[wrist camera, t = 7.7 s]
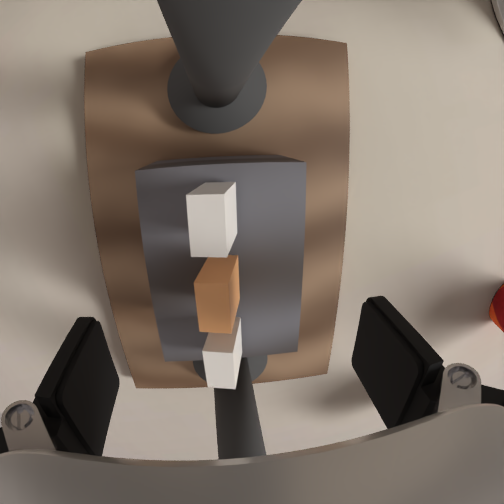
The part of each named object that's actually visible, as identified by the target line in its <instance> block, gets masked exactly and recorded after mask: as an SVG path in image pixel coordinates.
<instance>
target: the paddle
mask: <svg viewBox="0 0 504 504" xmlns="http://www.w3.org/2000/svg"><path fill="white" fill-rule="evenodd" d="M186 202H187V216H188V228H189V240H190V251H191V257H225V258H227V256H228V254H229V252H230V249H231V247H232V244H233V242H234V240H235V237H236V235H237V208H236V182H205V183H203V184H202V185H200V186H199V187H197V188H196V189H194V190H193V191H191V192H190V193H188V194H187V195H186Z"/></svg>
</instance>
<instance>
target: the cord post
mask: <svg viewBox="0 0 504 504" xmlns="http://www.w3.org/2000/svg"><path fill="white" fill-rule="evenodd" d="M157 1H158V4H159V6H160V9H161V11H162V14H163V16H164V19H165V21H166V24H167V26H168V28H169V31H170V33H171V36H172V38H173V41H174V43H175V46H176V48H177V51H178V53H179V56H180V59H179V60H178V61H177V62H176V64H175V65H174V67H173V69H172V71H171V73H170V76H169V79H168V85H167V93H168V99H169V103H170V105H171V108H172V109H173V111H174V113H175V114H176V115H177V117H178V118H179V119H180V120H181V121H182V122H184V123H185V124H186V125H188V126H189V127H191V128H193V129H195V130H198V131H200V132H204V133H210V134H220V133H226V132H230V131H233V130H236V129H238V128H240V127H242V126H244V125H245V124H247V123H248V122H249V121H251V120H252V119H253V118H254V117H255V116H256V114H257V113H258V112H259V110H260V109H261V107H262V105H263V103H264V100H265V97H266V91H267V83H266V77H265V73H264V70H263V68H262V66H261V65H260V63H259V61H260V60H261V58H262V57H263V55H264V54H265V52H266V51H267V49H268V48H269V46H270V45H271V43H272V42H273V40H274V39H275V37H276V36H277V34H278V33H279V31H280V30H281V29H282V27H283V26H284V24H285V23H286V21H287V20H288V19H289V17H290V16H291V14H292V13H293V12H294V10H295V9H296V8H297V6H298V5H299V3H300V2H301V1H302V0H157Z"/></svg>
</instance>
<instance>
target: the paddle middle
mask: <svg viewBox="0 0 504 504" xmlns="http://www.w3.org/2000/svg"><path fill="white" fill-rule="evenodd" d="M194 290H195V299H196V307H197V316H198V323H199V331H200V332H211V333H228V334H232V329H233V325H234V321H235V317H236V313H237V309H238V305H239V300H240V291H239V266H238V255H228V256H227V258H225V257H208V258H207V260H206V262H205V263H204V265H203V267H202V269H201V270H200V272H199V274H198V276H197V278H196V279H195V281H194Z"/></svg>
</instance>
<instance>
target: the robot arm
mask: <svg viewBox="0 0 504 504" xmlns="http://www.w3.org/2000/svg"><path fill="white" fill-rule="evenodd" d="M492 4H493V8H494V12H495V15H496V18H497V20H498V23H499V25H500V27H501V30H502V32H503V34H504V0H492ZM442 364H443V359H442V358H441V357H440V356H439V355H438V354H437V353H436V352H435V350H434V349H433V348H432V347H431V346H430V345H429V344H428V343H427V342H426V341H425V339H424V338H423V337H422V336H421V335H420V334H419V333H418V332H417V331H416V330H415V329H414V328H413V326H412V325H411V324H410V323H409V322H408V321H407V320H406V319H405V318H404V317H403V316H402V315H401V314H400V313H399V312H398V311H397V310H396V308H395V307H394V306H393V305H392V304H391V303H390V302H389V301H388V300H387V299H386V298H385V297H384V296H377V297H370V298H368V299H367V300H366V302H364V303H363V305H362V309H361V315H360V321H359V326H358V331H357V336H356V341H355V346H354V351H353V355H352V366H353V368H354V370H355V372H356V374H357V375H358V377H359V379H360V381H361V382H362V384H363V386H364V388H365V389H366V391H367V393H368V395H369V396H370V398H371V400H372V402H373V404H374V405H375V407H376V409H377V411H378V413H379V414H380V416H381V418H382V420H383V422H384V423H385V425H386V427H387V429H386V430H383V431H380V432H376V433H373V434H369V435H366V436H362V437H358V438H355V439H351V440H347V441H343V442H338V443H334V444H329V445H325V446H320V447H315V448H310V449H304V450H299V451H293V452H286V453H280V454H273V455H265V456H256V457H247V458H235V459H221V460H197V461H162V460H140V459H126V458H114V457H103V456H102V453H103V449H104V444H105V440H106V435H107V431H108V427H109V423H110V419H111V415H112V411H113V407H114V404H115V400H116V396H117V392H118V389H119V377H118V374H117V371H116V369H115V366H114V363H113V360H112V357H111V354H110V352H109V349H108V346H107V342H106V339H105V336H104V333H103V330H102V327H101V324H100V322H99V321H96V320H95V318H94V317H79V318H78V319H77V320H76V322H75V323H74V325H73V327H72V328H71V330H70V332H69V333H68V335H67V337H66V339H65V340H64V342H63V344H62V345H61V347H60V349H59V351H58V352H57V354H56V356H55V358H54V360H53V361H52V363H51V365H50V367H49V369H48V371H47V372H46V374H45V376H44V378H43V380H42V382H41V384H40V386H39V388H38V390H37V392H36V394H35V399H34V401H33V403H32V402H30V401H27V400H20V401H16V402H14V403H12V404H10V405H9V406H8V407H7V408H6V409H5V410H4V412H3V414H2V417H1V424H2V427H1V428H0V504H504V390H500V389H496V388H492V387H488V386H484V385H481V379H480V376H479V374H478V372H477V371H476V370H475V369H474V368H472V367H470V366H469V365H466V364H461V363H454V364H451V365H448V366H447V367H446V368H445V367H444V366H443V365H442Z"/></svg>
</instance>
